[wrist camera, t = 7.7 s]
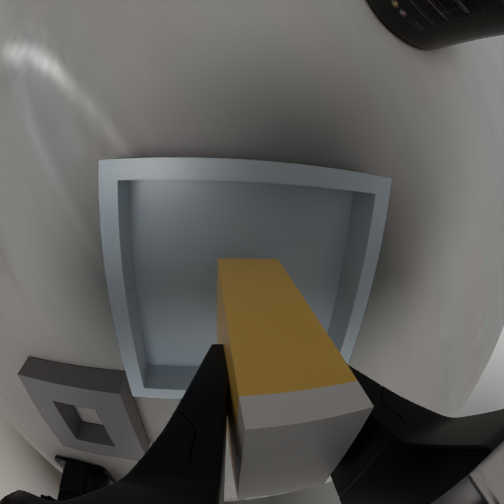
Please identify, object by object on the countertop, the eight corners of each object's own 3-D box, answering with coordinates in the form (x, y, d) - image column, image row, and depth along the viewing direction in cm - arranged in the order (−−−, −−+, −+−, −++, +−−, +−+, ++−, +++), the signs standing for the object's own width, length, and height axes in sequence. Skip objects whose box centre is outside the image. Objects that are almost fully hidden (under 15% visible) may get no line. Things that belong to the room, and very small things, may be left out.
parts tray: (325, 360, 17) (340, 386, 15) (139, 367, 15) (132, 396, 13) (363, 172, 13) (391, 178, 11) (118, 158, 11) (98, 160, 9)
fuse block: (149, 442, 18) (148, 461, 16) (68, 429, 17) (63, 445, 15) (125, 371, 15) (119, 394, 13) (28, 356, 14) (17, 374, 12)
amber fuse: (268, 336, 13) (323, 484, 6) (216, 337, 13) (237, 498, 5) (277, 258, 12) (373, 406, 4) (218, 258, 11) (244, 429, 4)
